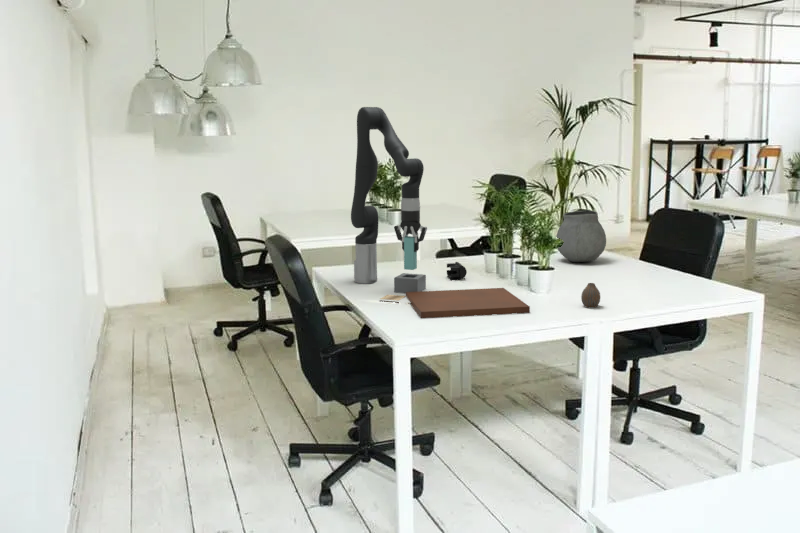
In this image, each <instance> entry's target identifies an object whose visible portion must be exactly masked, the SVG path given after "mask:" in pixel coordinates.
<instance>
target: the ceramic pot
mask: <svg viewBox="0 0 800 533" xmlns="http://www.w3.org/2000/svg"><path fill="white" fill-rule="evenodd" d="M562 216H563V221H562V223H561V225H559V228H558V230H557V231H556V232H557V233H556V235H555V238H556V237H557V238H560V239H562V240H563V241H564V243H563V245H562V246H561V247H559V248H558V249H557V250H558V252H559V254H560V255H562V257H564V258H565V259H566V260H568V261H569V262H572V263H589V262H593V261H596V260H597V259H598V258H599V257H600V256H601V255H602V254H603V253H604V251H605V249H606V246H607V236H606V231H605V229H604V227H603V226H602V224H601V222H600V221H599V217H598V216H599V215H598V211H595V210H577V211H569V212H565V213H563V215H562Z"/></svg>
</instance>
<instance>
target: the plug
mask: <svg viewBox="0 0 800 533" xmlns="http://www.w3.org/2000/svg"><path fill="white" fill-rule="evenodd" d="M414 243H415V241H414V238H413V235H408V236H407V237H404V251H403V269H404V270H409V271H414V270H416V269H417V267H418V251H417V252H414Z"/></svg>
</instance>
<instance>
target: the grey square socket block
mask: <svg viewBox="0 0 800 533" xmlns="http://www.w3.org/2000/svg"><path fill="white" fill-rule="evenodd" d="M393 279H394V280H393V281H394V282H393V285H394V286H393V290H394V291H393V293H399V294H406V292H420V291H425V290H427V281H426V280H427V276H426V274H422V273H409V272H407V273H406V272H405V273H400V274H399V275H396V276H394V277H393Z"/></svg>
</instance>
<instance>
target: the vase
mask: <svg viewBox="0 0 800 533" xmlns="http://www.w3.org/2000/svg"><path fill="white" fill-rule="evenodd" d="M580 297H581V299H580V300H581V303H582V305H583V306H584V307H585V306H586V307H585V308H589V307H594V308H597V306H599V304H600V302H601V292H600V291H599V289H598V287H597V286H596V284H595V283H594V282H588V283H587V285H586V287H585V288H584V289H583V290H582V292H581V296H580Z"/></svg>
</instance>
